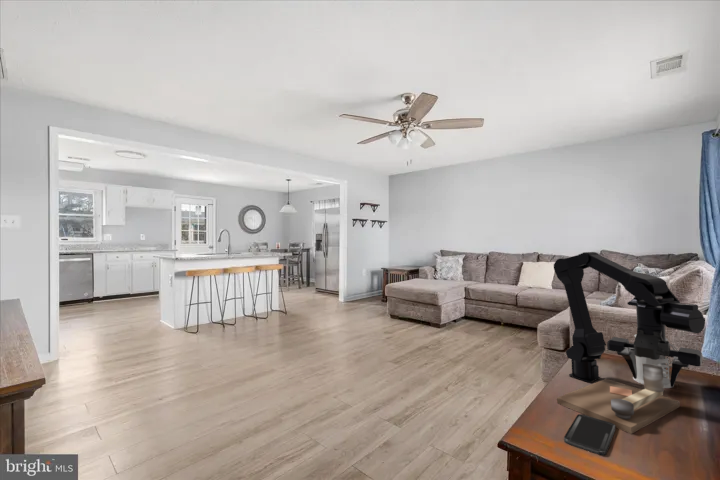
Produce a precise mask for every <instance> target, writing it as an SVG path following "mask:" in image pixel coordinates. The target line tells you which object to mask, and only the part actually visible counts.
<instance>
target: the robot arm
mask: <svg viewBox="0 0 720 480" xmlns="http://www.w3.org/2000/svg"><path fill="white" fill-rule="evenodd" d="M588 268H591V269H593V270H595V271H597V272H598V273H600V274H602V275H604V276H606V277H608V278H609V279H612V280H613V281H616V282H617V283H619V284H620V285H622V286H623V288H624V289H625V290H626V291H627V292H628V293H629V294H631V295H632V296H634V297H633V298H632V299H631V300H629V301H628V302H627V303H626V304H627V305H628V306H634V307H635V310H636V334H637V335H636V337H635V336H634V341H633V342H630V341H629V339H628V338H623V337H617V336H613V337H612V338H610V339H608V341H607V343H606V341H605V339H604V333H603V332H602V331H597V329H595V328H594V327H593V326H594V325H593V323H592V320H591V319H592V318H591V315H590V311H589V308H588V304H587V300H586V296H585V292H584V288H583V285H582V282H583V279H584V275H585V271H584V270H585V269H588ZM553 271H554V273H555V275H556V277H557V279H558V280H559V281H560V282H561V283H562V285H564V290H565V293H566V298H567V302H568V304H569V309H570V314H571V317H572V321H573V325H574V330H573V333H572V337H571V339H572V346H570V347H569V348H568V349H567V350H566V351H565V354H566V356H567V358H568V359H570V360H571V373H569V374H568V376H569V377H570V378H573V379H576V380H581V381H583V382H586V383H593V382H594V381H598V380H600V379H601V376H600V373H599V372H600V371H599V369H600V368H599V365H598V362H597V360H600V359H601V357H602V355H603V354H604V352H605V351H606V349H607V351H612V352H616V354H617V355H619V356H621V357H622V358H623V359H624V360H625V362H626V363H627V365H628V367H629V370H630V373H631V374H632V378H633V377H634V378H635V379H636V378H637V367H636V356H638V357H646V358H650V359H653V360H657V359H659V357H660V355H662V356H665V357H668V358H673V359H674V361H673V360H672V361H673V362H672V361H671V362H672V363H671V366H672V367H671V372H670V373H671V374H670V379H669V381H670V384H671V388H674V386H675V383H676V381H677V378H678V375H679V373H680V372H681V370H682V368H689V367H690V366H694V367H701V366H702V364H703V352H701V351H700V350H699V349H694V348H687V347H682V346H681V347H680V348H679V349H677V350H678V351H677V350H676V349H674V350H673V349H671V345H670V344H671V343H670V341H669V340H668V341H666V338H667V337H666V328H668V329H673V330H677V331H683V332H688V333H692V334H700V333H702V332H703V330H704V328H705V327H706V326H705V325H706V318H705V317H704V314H703V312H702V311H700V310H699V305H698V304H693V303H687V304H686V303H681V302H680V300H679V299H678V298H677V297H676V296H675V294H674V293H673V292H672V291H671V289H670V288H669V287H668V285H667V283H668V282H666V281H665V279H663V278H661V277H658V276H654V275H652V274H649V273H643V272H638V271H635V270H632V269H630V268H627V267H625V266H623V265H621V264H619V263H617V262H615V261H612V260H611V259H608V258H606V257H605V256H602V255H600V254H599V253H598V252H595V251H586V252H582V253H579V254H576V255H574V256H573V255H572V256H570V257H567V258H558V259H556V260H555V261H554V263H553ZM669 343H670V344H669ZM606 346H607V347H606Z"/></svg>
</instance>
